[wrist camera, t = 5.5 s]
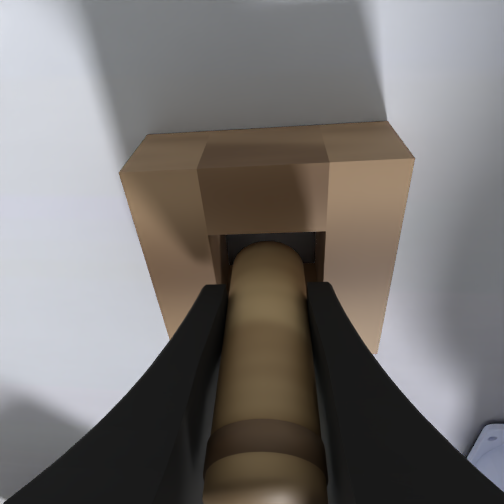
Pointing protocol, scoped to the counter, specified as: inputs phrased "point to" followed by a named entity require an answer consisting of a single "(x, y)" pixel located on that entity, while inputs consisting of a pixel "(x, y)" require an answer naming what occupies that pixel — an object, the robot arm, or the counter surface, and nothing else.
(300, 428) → the wooden peg
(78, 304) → the counter surface
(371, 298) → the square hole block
